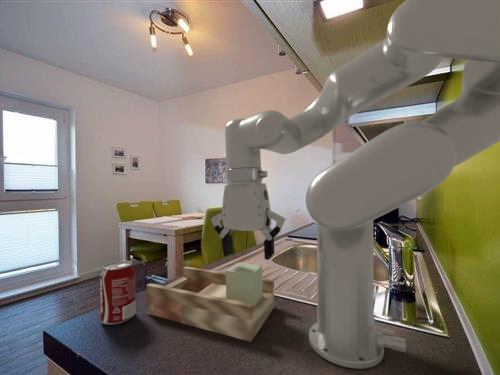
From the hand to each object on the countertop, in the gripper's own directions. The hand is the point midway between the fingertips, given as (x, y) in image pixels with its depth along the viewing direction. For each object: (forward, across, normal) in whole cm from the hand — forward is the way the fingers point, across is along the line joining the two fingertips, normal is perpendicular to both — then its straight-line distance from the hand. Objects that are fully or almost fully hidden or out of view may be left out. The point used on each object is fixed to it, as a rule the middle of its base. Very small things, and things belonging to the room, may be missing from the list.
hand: (247, 256), depth 53 cm
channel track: (+13, +10, 0) cm, 17 cm away
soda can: (+13, +27, +11) cm, 32 cm away
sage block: (+10, +1, 0) cm, 10 cm away
